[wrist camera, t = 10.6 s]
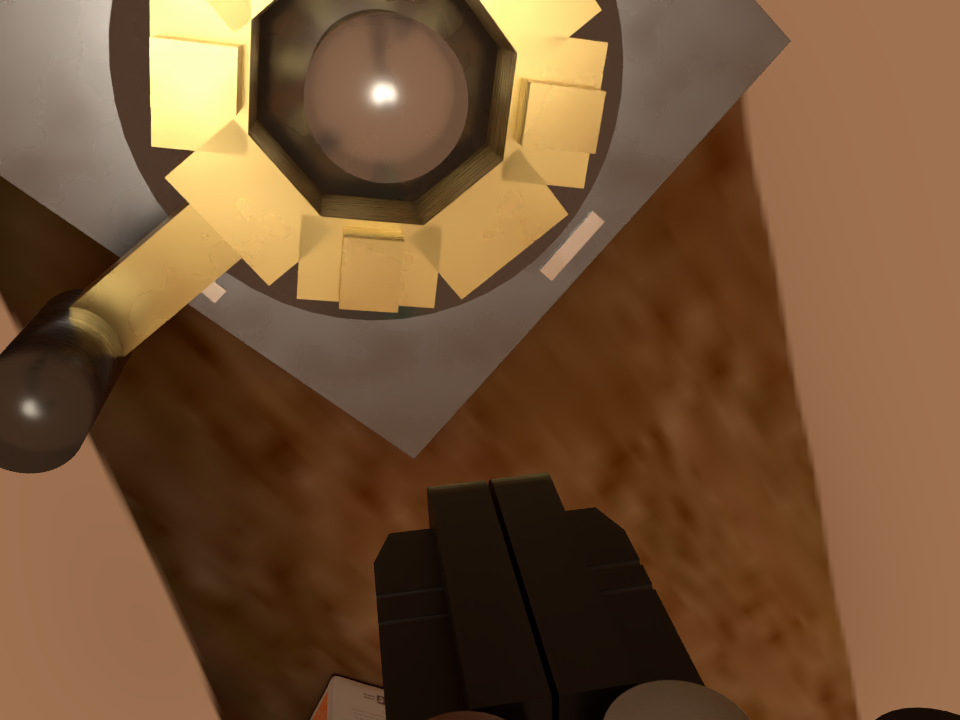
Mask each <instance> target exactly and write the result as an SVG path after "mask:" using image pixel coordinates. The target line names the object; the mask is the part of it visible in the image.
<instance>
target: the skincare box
mask: <svg viewBox="0 0 960 720" xmlns="http://www.w3.org/2000/svg"><path fill="white" fill-rule="evenodd" d="M310 720H386V713H385V701H384V690H383V689H380V688H377V687H373V686H370V685H366V684H363V683H359V682H356V681H353V680H350V679H346V678H343V677H339V676H334V677H332V679H331V680H330V682H329V685H328V687H327V689H326V691H325V693H324V695H323V696H322V698H321V700H320V702H319V704H318V705H317V707H316V709H315V711H314V713H313V715H312V717H311V719H310Z"/></svg>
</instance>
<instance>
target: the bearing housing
mask: <svg viewBox="0 0 960 720" xmlns="http://www.w3.org/2000/svg"><path fill="white" fill-rule="evenodd" d="M595 1H596V2H597V4H598V5H599V7H600V8H601V11H600V12H599V13H598V14H596V15H595V16H594V17H593V18H592V19H590V20H589V21H588V22H587V23H586V24H584V25H583V26H582V27H581V28H580V29H578V30H577V31H576V32H575V33H574V34H572V35H571V36H577V37H583V38H588V39H593V40H597V41H602V42H607V43H608V47H607V53H606V59H605V65H604V71H603V77H602V83H601V90H604V91H606V95H605V101H604V107H603V113H602V119H601V125H600V131H599V136H598V142H597V148H596V154H591V153H590V155H589V161H588V166H587V172H586V178H585V184H584V188H574V187H563V186H553V185H547V186H548V188H549V189H550V190H551V192H552V193H553V194H554V196H555V197H556V198H557V200H558V201H559V202H560V204H561V205H562V206H563V208H564V209H565V210H566V212H567V213H568V215H567V216H566V217H565V218H563V219H562V220H561V221H560V222H558V223H557V224H556V225H555V226H553V227H552V228H551V229H550V230H548V231H547V232H546V233H545V234H543V235H542V236H541V237H540V238H538V239H537V240H536V241H535V242H533V243H532V244H531V245H530V246H528V247H527V248H526V249H524V250H523V251H522V252H521V253H519V254H518V255H517V256H516V257H514V258H513V259H512V260H511V261H509V262H508V263H507V264H506V265H504V266H503V267H502V268H501V269H499V270H498V271H497V272H496V273H494V274H493V275H492V276H491V277H489V278H488V279H487V280H486V281H484V282H483V283H482V284H481V285H479V286H478V287H477V288H476V289H474V290H473V291H472V292H471V293H469V294H468V295H467V296H466V297H464V298H463V299H461V298H460V297H459V296H458V295H457V294H456V292H455V291H454V290H453V289H452V288H451V287H450V285H449V284H448V283H447V282H446V281H445V279H444V278H443V277H442V276H441V275H440V274H439V272H438V278H437V287H436V296H435V305H434V308H424V307H409V306H398V313H392V312H377V311H362V310H347V309H339V302H336V301H321V300H307V299H297V284H298V264H299V262H297V263H296V264H295V265H294V266H292V267H291V268H290V269H289V270H288V271H286V272H285V273H284V274H283V275H282V276H280V277H279V278H278V279H277V280H276V281H274V282H273V283H272V284H271V285H270V286H269V285H268V284H267V283H266V282H265V281H264V280H263V279H262V278H261V277H260V276H259V275H258V274H257V273H256V272H255V271H254V270H253V269H252V268H251V267H250V266H249V265H248V264H247V263H246V262H245V261H244V260H243V258H241V259H240V260H239V261H238V262H237V263H235V264H234V265H233V266H232V267H231V268H230V269H228V270H227V271H226V272H225V273H224V274H222V275H221V276H220V277H219V278H218V279H216V280H215V281H214V282H213V283H212V284H210V285H209V286H208V287H207V288H206V289H204V290H203V291H202V292H201V293H200V294H198V295H197V296H196V297H195V298H194V299H193V300H191V301H190V302H189V303H188V304H189V305H190V306H192V307H193V308H195V309H196V310H197V311H199V312H200V313H202V314H203V315H205V316H206V317H208V318H209V319H211V320H212V321H214V322H215V323H216V324H218V325H219V326H221V327H222V328H224V329H225V330H227V331H228V332H230V333H231V334H233V335H234V336H235V337H237V338H238V339H240V340H241V341H243V342H244V343H246V344H247V345H249V346H250V347H251V348H253V349H254V350H256V351H257V352H259V353H260V354H262V355H263V356H265V357H266V358H268V359H269V360H270V361H272V362H273V363H275V364H276V365H278V366H279V367H281V368H282V369H284V370H285V371H287V372H288V373H289V374H291V375H292V376H294V377H295V378H297V379H298V380H300V381H301V382H303V383H304V384H306V385H307V386H308V387H310V388H311V389H313V390H314V391H316V392H317V393H319V394H320V395H322V396H323V397H325V398H326V399H327V400H329V401H330V402H332V403H333V404H335V405H336V406H338V407H339V408H341V409H342V410H344V411H345V412H346V413H348V414H349V415H351V416H352V417H354V418H355V419H357V420H358V421H360V422H361V423H363V424H364V425H365V426H367V427H368V428H370V429H371V430H373V431H374V432H376V433H377V434H379V435H380V436H381V437H383V438H384V439H386V440H387V441H389V442H390V443H392V444H393V445H395V446H396V447H398V448H399V449H400V450H402V451H403V452H405V453H406V454H408V455H409V456H411V457H412V458H415V457H416V456H417V455H418V454H419V453H420V452H421V450H422V449H423V448H424V447H425V446H426V445H427V444H428V443H429V442H430V441H431V439H432V438H433V437H434V436H435V435H436V434H437V433H438V432H439V431H440V429H441V428H442V427H443V426H444V425H445V424H446V423H447V422H448V421H449V419H450V418H451V417H452V416H453V415H454V414H455V413H456V412H457V411H458V409H459V408H460V407H461V406H462V405H463V404H464V403H465V402H466V401H467V399H468V398H469V397H470V396H471V395H472V394H473V393H474V392H475V391H476V390H477V388H478V387H479V386H480V385H481V384H482V383H483V382H484V381H485V380H486V378H487V377H488V376H489V375H490V374H491V373H492V372H493V371H494V370H495V368H496V367H497V366H498V365H499V364H500V363H501V362H502V361H503V360H504V358H505V357H506V356H507V355H508V354H509V353H510V352H511V351H512V350H513V348H514V347H515V346H516V345H517V344H518V343H519V342H520V341H521V340H522V339H523V337H524V336H525V335H526V334H527V333H528V332H529V331H530V330H531V329H532V327H533V326H534V325H535V324H536V323H537V322H538V321H539V320H540V319H541V317H542V316H543V315H544V314H545V313H546V312H547V311H548V310H549V309H550V307H551V306H552V305H553V304H554V303H555V302H556V301H557V300H558V299H559V297H560V296H561V295H562V294H563V293H564V292H565V291H566V290H567V289H568V288H569V286H570V285H571V284H572V283H573V282H574V281H575V280H576V279H577V278H578V276H579V275H580V274H581V273H582V272H583V271H584V270H585V269H586V268H587V266H588V265H589V264H590V263H591V262H592V261H593V260H594V259H595V258H596V256H597V255H598V254H599V253H600V252H601V251H602V250H603V249H604V248H605V246H606V245H607V244H608V243H609V242H610V241H611V240H612V239H613V238H614V237H615V235H616V234H617V233H618V232H619V231H620V230H621V229H622V228H623V227H624V225H625V224H626V223H627V222H628V221H629V220H630V219H631V218H632V217H633V215H634V214H635V213H636V212H637V211H638V210H639V209H640V208H641V207H642V205H643V204H644V203H645V202H646V201H647V200H648V199H649V198H650V197H651V195H652V194H653V193H654V192H655V191H656V190H657V189H658V188H659V187H660V186H661V184H662V183H663V182H664V181H665V180H666V179H667V178H668V177H669V176H670V174H671V173H672V172H673V171H674V170H675V169H676V168H677V167H678V166H679V164H680V163H681V162H682V161H683V160H684V159H685V158H686V157H687V156H688V154H689V153H690V152H691V151H692V150H693V149H694V148H695V147H696V146H697V144H698V143H699V142H700V141H701V140H702V139H703V138H704V137H705V136H706V135H707V133H708V132H709V131H710V130H711V129H712V128H713V127H714V126H715V125H716V123H717V122H718V121H719V120H720V119H721V118H722V117H723V116H724V115H725V113H726V112H727V111H728V110H729V109H730V108H731V107H732V106H733V105H734V103H735V102H736V101H737V100H738V99H739V98H740V97H741V96H742V95H743V93H744V92H745V91H746V90H747V89H748V88H749V87H750V86H751V85H752V84H753V82H754V81H755V80H756V79H757V78H758V77H759V76H760V75H761V74H762V72H763V71H764V70H765V69H766V68H767V67H768V66H769V65H770V64H771V62H772V61H773V60H774V59H775V58H776V57H777V56H778V55H779V54H780V52H781V51H782V50H783V49H784V48H785V47H786V46H787V45H788V43H789V42H790V39H789V38H788V37H787V36H786V35H785V34H784V33H783V32H782V30H781V29H780V28H779V27H778V26H777V25H776V24H775V23H774V21H773V20H772V19H771V18H770V17H769V16H768V15H767V13H766V12H765V11H764V10H763V9H762V8H761V7H760V5H758V3H757V2H756V1H755V0H595ZM149 37H150V0H0V176H2V177H3V178H5V179H6V180H8V181H9V182H10V183H12V184H13V185H15V186H16V187H18V188H19V189H21V190H22V191H24V192H25V193H27V194H28V195H29V196H31V197H32V198H34V199H35V200H37V201H38V202H40V203H41V204H43V205H44V206H46V207H47V208H48V209H50V210H51V211H53V212H54V213H56V214H57V215H59V216H60V217H62V218H63V219H65V220H66V221H67V222H69V223H70V224H72V225H73V226H75V227H76V228H78V229H79V230H81V231H82V232H84V233H85V234H86V235H88V236H89V237H91V238H92V239H94V240H95V241H97V242H98V243H100V244H101V245H103V246H104V247H105V248H107V249H108V250H110V251H111V252H113V253H114V254H116V255H117V256H119V257H120V258H121V257H122V256H123V255H125V254H126V253H127V252H128V251H129V250H130V249H132V248H133V247H134V246H135V245H136V244H137V243H139V242H140V241H141V240H142V239H143V238H144V237H146V236H147V235H148V234H149V233H150V232H151V231H153V230H154V229H155V228H156V227H157V226H158V225H160V224H161V223H162V222H163V221H164V220H165V219H167V218H168V217H169V216H170V215H171V214H172V213H174V212H175V211H176V210H177V209H178V208H179V207H181V206H182V205H183V204H184V203H185V202H186V201H187V200H186V199H185V198H184V197H183V196H182V195H181V194H180V193H179V192H178V191H177V190H176V189H175V188H174V187H173V186H172V185H171V184H170V183H169V182H168V181H167V180H166V179H165V177H166V175H167V174H168V173H169V172H170V171H171V170H172V169H173V167H174V166H175V165H176V164H177V163H178V162H179V161H180V159H181V158H182V157H183V156H185V155H186V154H187V153H188V152H189V151H190V150H182V149H172V148H162V147H151V107H150V38H149ZM497 50H498V45H497V44H496V43H495V41H494V40H493V38H492V37H491V36H490V34H489V33H488V32H487V30H486V29H485V27H484V26H483V25H482V23H481V22H480V20H479V19H478V18H477V16H476V15H475V13H474V12H473V11H472V9H471V8H470V7H469V5H468V4H467V2H466V1H465V0H278V1H277V2H276V3H274V4H273V5H272V6H271V7H270V8H269V9H268V10H266V11H265V12H264V13H263V14H262V15H261V16H260V34H259V66H258V98H257V120H258V121H259V122H260V123H261V124H262V126H263V127H264V128H265V129H266V130H267V131H268V132H269V134H270V135H271V136H272V137H273V138H274V139H275V140H276V141H277V143H278V144H279V145H280V146H281V147H282V148H283V149H284V151H285V152H286V153H287V154H288V155H289V156H290V157H291V158H292V160H293V161H294V162H295V163H296V164H297V165H298V166H299V168H300V169H301V170H302V171H303V172H304V173H305V174H306V176H307V177H308V178H309V179H310V180H311V181H312V182H313V183H314V185H315V186H316V187H317V188H318V189H319V190H320V191H321V193H323V194H334V195H345V196H356V197H367V198H378V199H389V200H400V201H411V202H415V201H416V200H417V199H419V198H420V197H421V196H422V195H424V194H425V193H426V192H427V191H428V190H430V189H431V188H432V187H433V186H434V185H436V184H437V183H438V182H439V181H441V180H442V179H443V178H444V177H445V176H447V175H448V174H449V173H450V172H452V171H453V170H454V169H455V168H456V167H458V166H459V165H460V164H461V163H462V162H464V161H465V160H466V159H467V158H469V157H470V156H471V155H472V154H473V153H475V152H476V151H477V150H478V149H479V148H481V147H482V146H483V145H484V144H486V139H487V131H488V123H489V115H490V107H491V99H492V90H493V82H494V74H495V66H496V58H497Z"/></svg>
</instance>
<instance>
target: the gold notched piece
mask: <svg viewBox="0 0 960 720" xmlns="http://www.w3.org/2000/svg"><path fill="white" fill-rule="evenodd" d="M277 1H278V0H150V37H149V38H150V107H151V147H162V148H172V149H182V150H190V151H189V152H188V153H187V154H186V155H185V156H183V157H182V158H181V159H180V161H179V162H178V163H177V164H176V165H175V166H174V167H173V169H172V170H171V171H170V172H169V173H168V174H167V175H166V177H165V179H166V180H167V181H168V182H169V183H170V184H171V185H172V186H173V187H174V188H175V189H176V190H177V191H178V192H179V193H180V194H181V195H182V196H183V197H184V198H185V199H186V200H187V201H186V202H185V203H184V204H183V205H182V206H181V207H179V208H178V209H177V210H176V211H175V212H174V213H172V214H171V215H170V216H169V217H168V218H167V219H165V220H164V221H163V222H162V223H161V224H160V225H158V226H157V227H156V228H155V229H154V230H153V231H151V232H150V233H149V234H148V235H147V236H146V237H144V238H143V239H142V240H141V241H140V242H139V243H137V244H136V245H135V246H134V247H133V248H132V249H130V250H129V251H128V252H127V253H126V254H125V255H123V256H122V257H121V258H120V259H119V260H118V261H117V262H115V263H114V264H113V265H112V266H111V267H110V268H108V269H107V270H106V271H105V272H104V273H103V274H101V275H100V276H99V277H98V278H97V279H96V280H94V281H93V282H92V283H91V284H90V285H89V286H87V287H86V288H85V289H75V290H69V291H65V292H63V293H60V294H58V295H56V296H54V297H53V298H52V299H50V300H49V301H48V302H47V303H46V304H45V305H44V306H43V307H42V309H41V310H40V311H39V312H38V313H37V314H36V315H35V316H34V317H33V319H32V320H31V321H30V322H29V323H28V324H27V325H26V326H25V327H24V329H23V330H22V331H21V332H20V333H19V334H18V335H17V336H16V337H15V339H14V340H13V341H12V342H11V343H10V344H9V345H8V346H7V347H6V349H5V350H4V351H3V352H2V353H1V354H0V468H3V469H6V470H9V471H13V472H19V473H40V472H46V471H49V470H53V469H55V468H57V467H60V466H61V465H63V464H65V463H66V462H68V461H69V460H70V459H71V458H72V457H73V456H75V454H76V453H77V452H78V450H79V449H80V447H81V445H82V443H83V442H84V440H85V438H86V436H87V434H88V433H89V431H90V429H91V427H92V425H93V423H94V422H95V420H96V418H97V416H98V414H99V412H100V411H101V409H102V407H103V405H104V403H105V401H106V400H107V398H108V396H109V394H110V392H111V390H112V389H113V387H114V385H115V383H116V381H117V379H118V378H119V376H120V374H121V372H122V370H123V368H124V367H125V365H126V363H127V361H128V359H129V357H130V355H131V354H132V352H133V349H134V348H135V347H136V346H138V345H139V344H140V343H141V342H142V341H144V340H145V339H146V338H147V337H148V336H150V335H151V334H152V333H153V332H154V331H156V330H157V329H158V328H159V327H160V326H162V325H163V324H164V323H165V322H166V321H167V320H169V319H170V318H171V317H172V316H173V315H175V314H176V313H177V312H178V311H179V310H181V309H182V308H183V307H184V306H185V305H187V304H188V303H189V302H190V301H191V300H193V299H194V298H195V297H196V296H197V295H198V294H200V293H201V292H202V291H203V290H204V289H206V288H207V287H208V286H209V285H210V284H212V283H213V282H214V281H215V280H216V279H218V278H219V277H220V276H221V275H222V274H224V273H225V272H226V271H227V270H228V269H230V268H231V267H232V266H233V265H234V264H235V263H237V262H238V261H239V260H240V259H241V258H243V260H244V261H245V262H246V263H247V264H248V265H249V266H250V267H251V268H252V269H253V270H254V271H255V272H256V273H257V274H258V275H259V276H260V277H261V278H262V279H263V280H264V281H265V282H266V283H267V284H268V285H269V286H270V285H271V284H272V283H273V282H274V281H276V280H277V279H278V278H279V277H280V276H282V275H283V274H284V273H285V272H286V271H288V270H289V269H290V268H291V267H292V266H294V265H295V264H296V263H297V262H299V264H298V284H297V299H307V300H321V301H336V302H339V309H347V310H362V311H377V312H392V313H398V306H409V307H424V308H434V305H435V296H436V287H437V278H438V272H439V274H440V275H441V276H442V277H443V278H444V279H445V281H446V282H447V283H448V284H449V285H450V287H451V288H452V289H453V290H454V291H455V292H456V294H457V295H458V296H459V297H460V298H461V299H463V298H464V297H466V296H467V295H468V294H469V293H471V292H472V291H473V290H474V289H476V288H477V287H478V286H479V285H481V284H482V283H483V282H484V281H486V280H487V279H488V278H489V277H491V276H492V275H493V274H494V273H496V272H497V271H498V270H499V269H501V268H502V267H503V266H504V265H506V264H507V263H508V262H509V261H511V260H512V259H513V258H514V257H516V256H517V255H518V254H519V253H521V252H522V251H523V250H524V249H526V248H527V247H528V246H530V245H531V244H532V243H533V242H535V241H536V240H537V239H538V238H540V237H541V236H542V235H543V234H545V233H546V232H547V231H548V230H550V229H551V228H552V227H553V226H555V225H556V224H557V223H558V222H560V221H561V220H562V219H563V218H565V217H566V216H567V215H568V213H567V212H566V210H565V209H564V208H563V206H562V205H561V204H560V202H559V201H558V200H557V198H556V197H555V196H554V194H553V193H552V192H551V190H550V189H549V188H548V186H547V185H553V186H563V187H574V188H584V184H585V178H586V172H587V166H588V161H589V155H590V153H591V154H596V148H597V142H598V136H599V131H600V125H601V119H602V113H603V107H604V101H605V95H606V91H604V90H601V83H602V77H603V71H604V65H605V59H606V53H607V47H608V43H607V42H602V41H597V40H593V39H588V38H583V37H577V36H571V35H572V34H574V33H575V32H576V31H577V30H578V29H580V28H581V27H582V26H583V25H584V24H586V23H587V22H588V21H589V20H590V19H592V18H593V17H594V16H595V15H596V14H598V13H599V12H600V11H601V8H600V7H599V5H598V4H597V2H596V1H595V0H465V1H466V2H467V4H468V5H469V7H470V8H471V9H472V11H473V12H474V13H475V15H476V16H477V18H478V19H479V20H480V22H481V23H482V25H483V26H484V27H485V29H486V30H487V32H488V33H489V34H490V36H491V37H492V38H493V40H494V41H495V43H496V44H497V45H498V50H497V58H496V66H495V74H494V82H493V90H492V99H491V107H490V115H489V123H488V131H487V139H486V144H484V145H483V146H482V147H481V148H479V149H478V150H477V151H476V152H475V153H473V154H472V155H471V156H470V157H469V158H467V159H466V160H465V161H464V162H462V163H461V164H460V165H459V166H458V167H456V168H455V169H454V170H453V171H452V172H450V173H449V174H448V175H447V176H445V177H444V178H443V179H442V180H441V181H439V182H438V183H437V184H436V185H434V186H433V187H432V188H431V189H430V190H428V191H427V192H426V193H425V194H424V195H422V196H421V197H420V198H419V199H417V200H416V201H415V202H411V201H400V200H389V199H378V198H367V197H356V196H345V195H334V194H323V193H321V191H320V190H319V189H318V188H317V187H316V186H315V185H314V183H313V182H312V181H311V180H310V179H309V178H308V177H307V176H306V174H305V173H304V172H303V171H302V170H301V169H300V168H299V166H298V165H297V164H296V163H295V162H294V161H293V160H292V158H291V157H290V156H289V155H288V154H287V153H286V152H285V151H284V149H283V148H282V147H281V146H280V145H279V144H278V143H277V141H276V140H275V139H274V138H273V137H272V136H271V135H270V134H269V132H268V131H267V130H266V129H265V128H264V127H263V126H262V124H261V123H260V122H259V121H258V120H257V98H258V66H259V34H260V16H261V15H262V14H263V13H264V12H265V11H266V10H268V9H269V8H270V7H271V6H272V5H273V4H274V3H276V2H277Z"/></svg>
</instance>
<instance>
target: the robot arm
mask: <svg viewBox="0 0 960 720" xmlns="http://www.w3.org/2000/svg"><path fill="white" fill-rule="evenodd" d="M427 501H428V514H429V526H430V529H423V530H415V531H407V532H399V533H391V534H389V535H388V537H387V539H386V541H385V543H384V545H383V546H382V548H381V550H380V552H379V554H378V556H377V558H376V560H375V562H374V573H375V586H376V597H377V611H378V623H379V637H380V650H381V662H382V675H383V688H384V701H385V713H386V720H750V719H749V717H748V716H747V715H746V714H745V712H744V711H743V710H742V709H740V708H739V707H738V706H737V705H736V704H735V703H734V702H732V701H731V700H730V699H728V698H727V697H725V696H724V695H722V694H720V693H718V692H716V691H714V690H712V689H710V688H707V687H706V686H705V685H704V683H703V682H702V680H701V678H700V676H699V674H698V672H697V670H696V668H695V666H694V664H693V662H692V660H691V658H690V656H689V654H688V653H687V651H686V649H685V647H684V645H683V643H682V641H681V639H680V637H679V635H678V633H677V631H676V629H675V627H674V625H673V623H672V621H671V619H670V618H669V616H668V614H667V612H666V610H665V608H664V606H663V604H662V602H661V600H660V598H659V596H658V594H657V592H656V590H655V589H654V590H653V588H652V583H651V581H650V579H649V577H648V575H647V573H646V571H645V569H644V567H643V565H640V561H639V557H638V555H637V553H636V552H635V550H634V548H633V546H632V544H631V542H630V540H629V538H628V536H627V534H626V532H625V530H624V529H622V528H621V527H620V526H619V525H617V524H616V523H615V522H613V521H612V520H611V519H610V518H608V517H607V516H606V515H604V514H603V513H602V512H601V511H599V510H598V509H597V508H595V507H594V508H586V509H578V510H570V511H565V510H564V507H563V505H562V503H561V500H560V498H559V496H558V493H557V491H556V488H555V486H554V484H553V481H552V479H551V477H550V475H549V474H548V473H539V474H531V475H523V476H514V477H506V478H498V479H490V480H489V483H488V484H487V482H486V481H485V480H483V481H475V482H467V483H459V484H450V485H442V486H434V487H427ZM876 720H960V715H957V714H954V713H950V712H947V711H942V710H937V709H931V708H904V709H899V710H894V711H891V712H889V713H886V714H884V715H882V716H880V717H879V718H877V719H876Z"/></svg>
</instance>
